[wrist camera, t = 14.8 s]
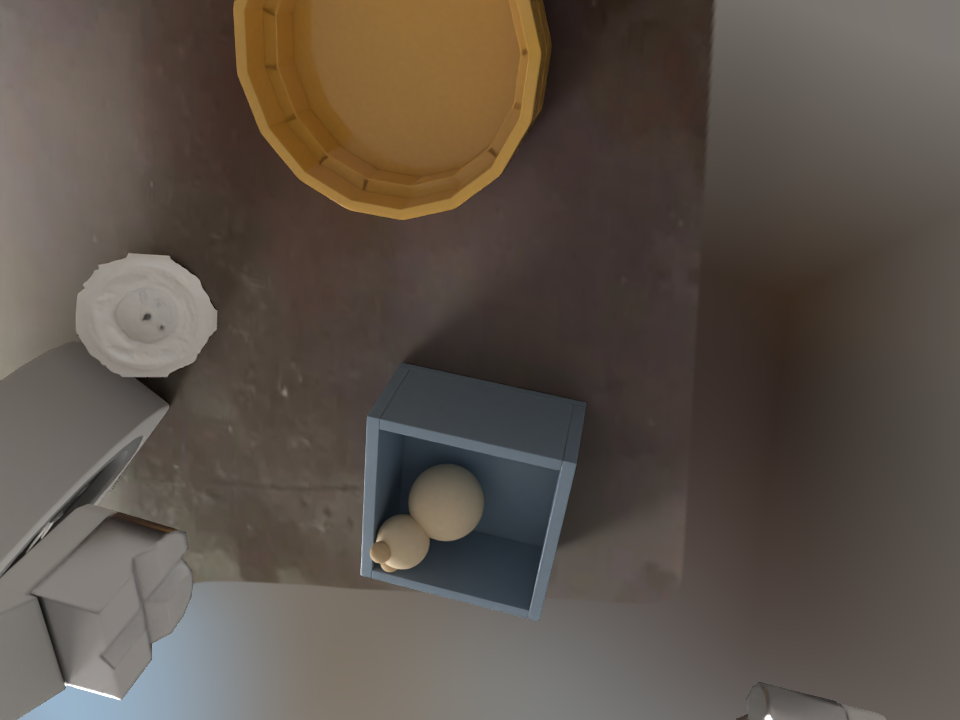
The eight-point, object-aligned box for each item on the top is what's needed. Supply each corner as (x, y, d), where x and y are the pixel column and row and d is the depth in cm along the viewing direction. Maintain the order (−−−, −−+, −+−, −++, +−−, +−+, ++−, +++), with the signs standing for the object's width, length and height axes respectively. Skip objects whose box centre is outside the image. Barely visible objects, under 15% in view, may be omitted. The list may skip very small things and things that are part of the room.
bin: (586, 402, 46) (576, 463, 40) (551, 551, 53) (539, 621, 47) (401, 361, 47) (366, 415, 42) (391, 512, 54) (360, 575, 49)
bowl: (575, -98, 33) (565, -106, 29) (527, 215, 41) (513, 241, 37) (271, -136, 35) (223, -148, 31) (280, 169, 42) (243, 190, 39)
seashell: (182, 271, 52) (62, 256, 46) (218, 260, 49) (93, 243, 43) (182, 379, 52) (61, 378, 46) (218, 376, 48) (92, 375, 42)
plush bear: (495, 490, 45) (391, 585, 43) (503, 513, 50) (410, 601, 48) (443, 437, 48) (343, 525, 46) (456, 464, 52) (365, 546, 50)
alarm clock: (90, 516, 62) (-119, 721, 46) (17, 464, 61) (-225, 655, 44) (193, 375, 52) (-30, 575, 35) (108, 309, 51) (-166, 483, 34)
